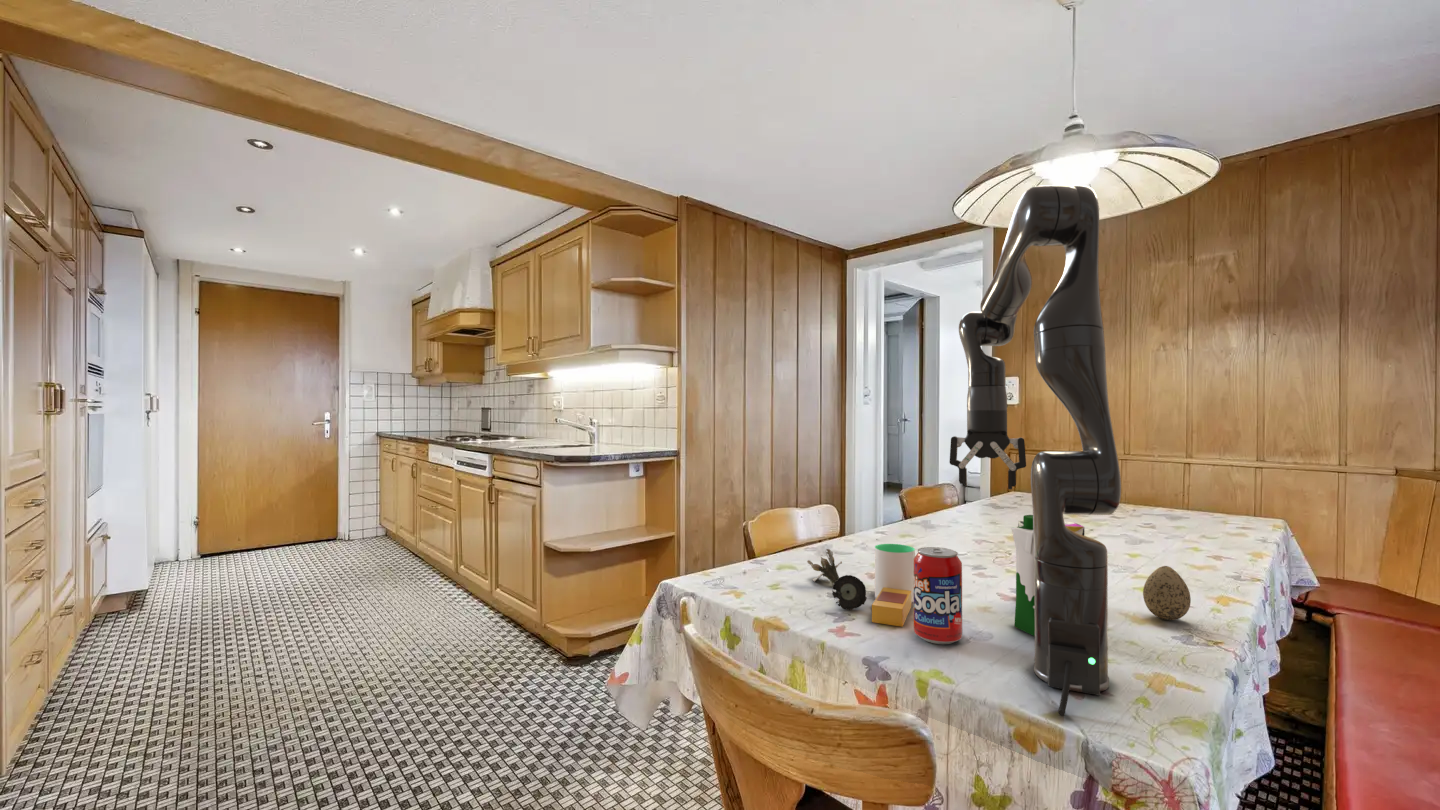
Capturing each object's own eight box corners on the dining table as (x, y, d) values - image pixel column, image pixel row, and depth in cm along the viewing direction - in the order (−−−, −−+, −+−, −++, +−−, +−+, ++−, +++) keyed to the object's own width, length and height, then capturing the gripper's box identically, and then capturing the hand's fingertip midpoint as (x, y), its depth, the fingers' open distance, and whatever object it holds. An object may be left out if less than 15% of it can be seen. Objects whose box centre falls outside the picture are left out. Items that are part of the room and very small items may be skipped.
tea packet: (902, 626, 107) (902, 608, 107) (871, 622, 110) (871, 604, 110) (911, 606, 118) (911, 590, 118) (883, 603, 121) (883, 586, 121)
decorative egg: (1137, 611, 116) (1137, 560, 116) (1180, 615, 114) (1180, 562, 114) (1151, 623, 109) (1151, 569, 109) (1198, 628, 107) (1197, 572, 107)
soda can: (959, 632, 105) (959, 547, 105) (965, 649, 97) (964, 557, 97) (912, 627, 107) (912, 544, 107) (914, 644, 99) (914, 554, 99)
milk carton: (1045, 621, 110) (1045, 513, 110) (1087, 639, 102) (1087, 522, 102) (1006, 625, 108) (1005, 515, 108) (1045, 644, 99) (1045, 525, 99)
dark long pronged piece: (827, 617, 116) (812, 566, 117) (815, 595, 138) (803, 552, 140) (871, 605, 116) (856, 554, 117) (852, 584, 138) (840, 542, 139)
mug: (865, 586, 132) (865, 539, 132) (901, 586, 132) (901, 539, 132) (881, 604, 120) (881, 552, 120) (920, 604, 120) (920, 552, 120)
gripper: (948, 408, 122) (948, 487, 122) (1026, 408, 116) (1026, 492, 115) (951, 409, 129) (951, 484, 128) (1025, 408, 122) (1025, 487, 122)
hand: (987, 487), depth 122 cm, fingers open, 8 cm apart
